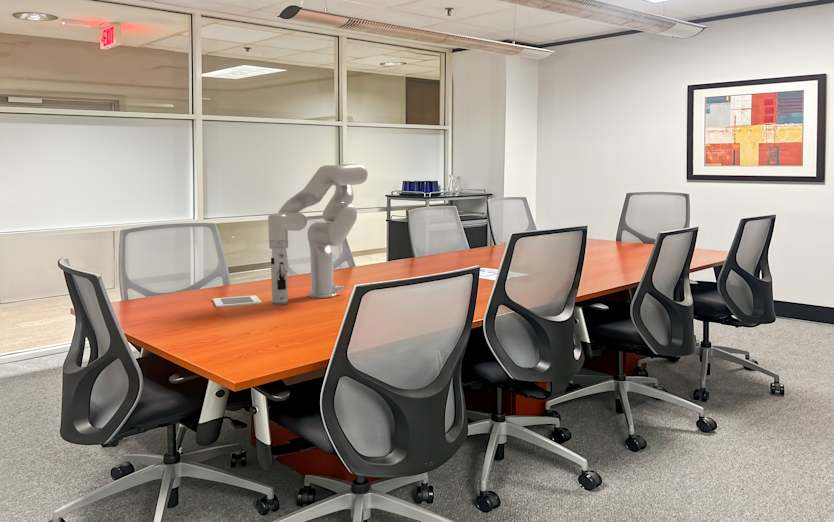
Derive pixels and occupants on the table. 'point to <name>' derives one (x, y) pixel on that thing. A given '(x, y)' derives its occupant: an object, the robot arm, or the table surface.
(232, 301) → the card
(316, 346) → the table surface
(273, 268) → the travel mug
